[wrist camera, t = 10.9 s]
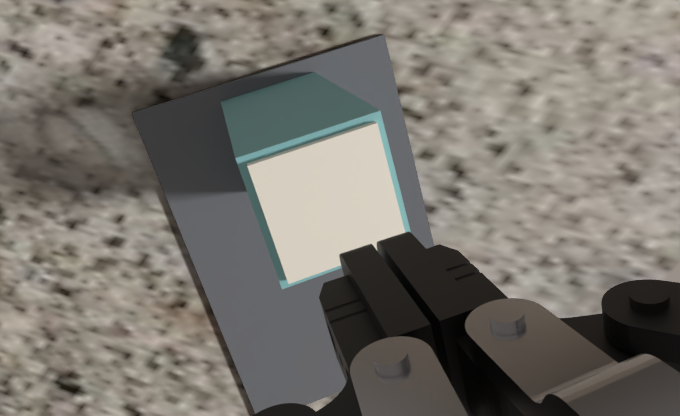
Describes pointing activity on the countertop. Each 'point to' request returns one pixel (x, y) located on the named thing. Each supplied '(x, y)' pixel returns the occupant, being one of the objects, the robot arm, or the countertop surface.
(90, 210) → the countertop surface
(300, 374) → the rubber mat
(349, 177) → the teal block
